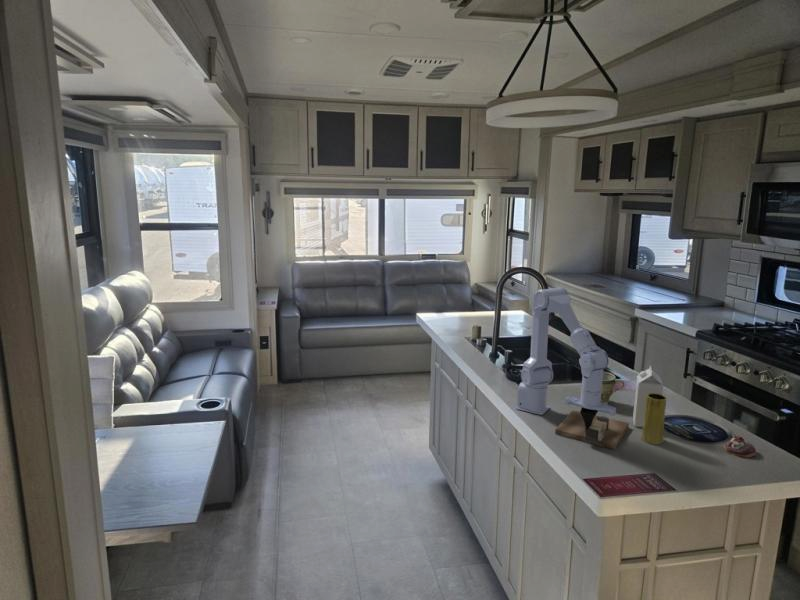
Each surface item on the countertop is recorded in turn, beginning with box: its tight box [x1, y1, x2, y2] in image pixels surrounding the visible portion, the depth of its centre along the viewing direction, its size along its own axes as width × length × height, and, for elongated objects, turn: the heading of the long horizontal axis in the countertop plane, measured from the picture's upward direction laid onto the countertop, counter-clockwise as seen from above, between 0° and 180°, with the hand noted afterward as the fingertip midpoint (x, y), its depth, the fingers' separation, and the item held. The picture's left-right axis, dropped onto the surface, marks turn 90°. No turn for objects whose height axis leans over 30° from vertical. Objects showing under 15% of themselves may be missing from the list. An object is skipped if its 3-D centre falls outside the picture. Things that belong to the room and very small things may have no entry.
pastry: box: [723, 435, 757, 459], centre depth 160 cm, size 8×8×5 cm
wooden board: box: [554, 409, 630, 450], centre depth 173 cm, size 18×18×2 cm
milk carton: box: [632, 365, 664, 428], centre depth 176 cm, size 7×7×19 cm
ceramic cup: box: [601, 370, 625, 405], centre depth 194 cm, size 13×10×10 cm
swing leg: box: [585, 415, 610, 443], centre depth 167 cm, size 13×4×3 cm, turn 143°
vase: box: [641, 393, 667, 445], centre depth 166 cm, size 6×6×14 cm
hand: (587, 431), depth 167 cm, fingers closed
